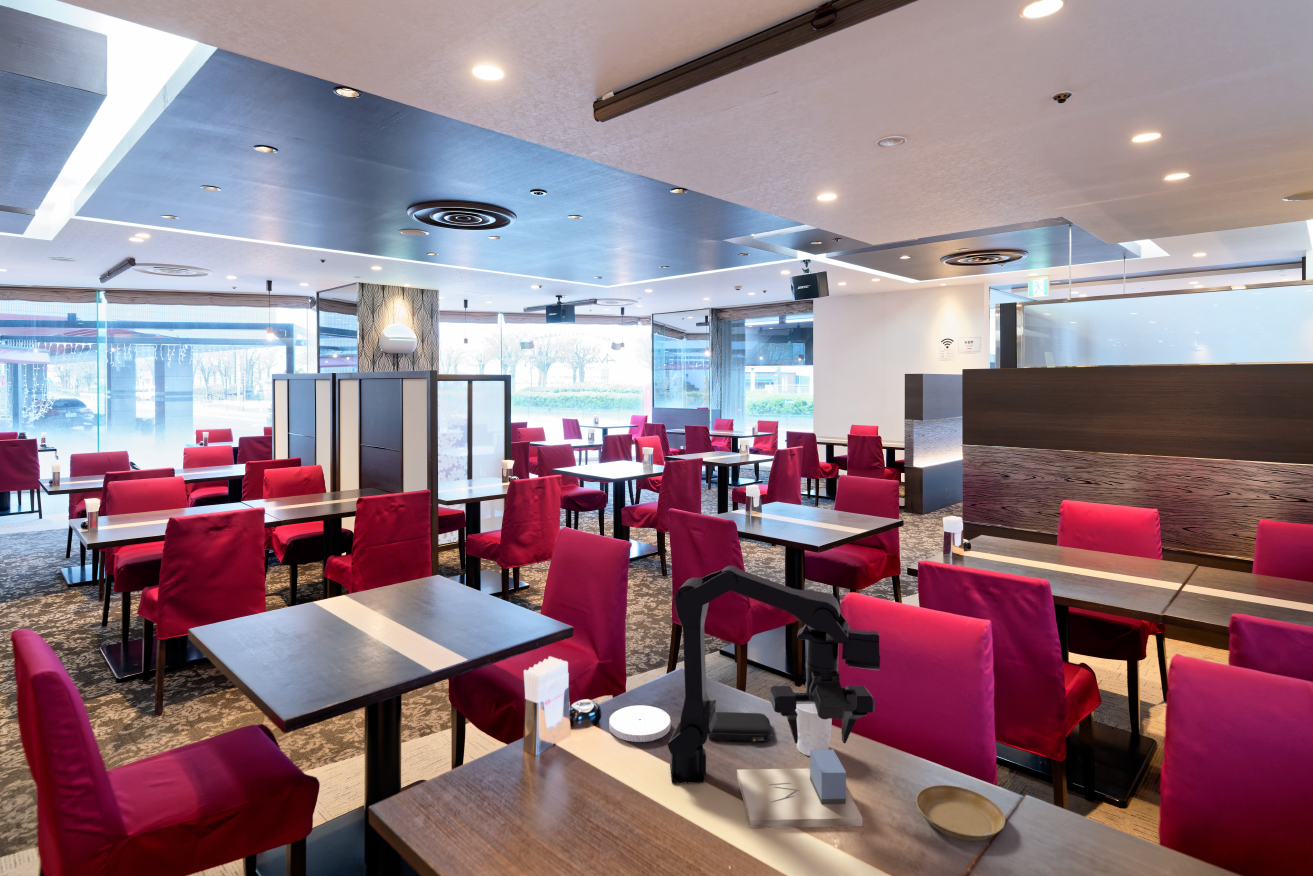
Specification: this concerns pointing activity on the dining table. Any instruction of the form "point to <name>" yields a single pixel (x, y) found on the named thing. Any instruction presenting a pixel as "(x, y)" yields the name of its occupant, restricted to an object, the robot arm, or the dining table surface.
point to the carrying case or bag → (741, 727)
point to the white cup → (812, 729)
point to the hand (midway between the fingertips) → (819, 742)
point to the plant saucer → (960, 812)
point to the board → (790, 801)
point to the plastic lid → (639, 723)
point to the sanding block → (828, 777)
